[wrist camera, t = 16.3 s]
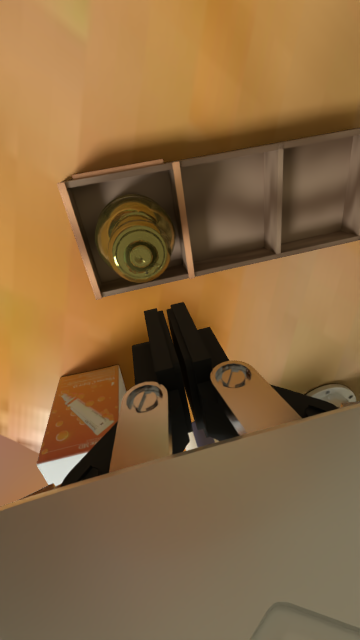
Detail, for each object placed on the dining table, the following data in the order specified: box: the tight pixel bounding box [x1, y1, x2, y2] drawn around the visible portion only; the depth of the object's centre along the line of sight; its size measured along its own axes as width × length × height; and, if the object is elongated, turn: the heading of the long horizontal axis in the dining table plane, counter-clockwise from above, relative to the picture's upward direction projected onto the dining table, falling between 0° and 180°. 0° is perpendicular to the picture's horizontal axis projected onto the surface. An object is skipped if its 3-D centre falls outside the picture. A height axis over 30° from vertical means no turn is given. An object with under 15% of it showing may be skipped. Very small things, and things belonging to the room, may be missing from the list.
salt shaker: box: [95, 193, 175, 283], centre depth 26 cm, size 7×7×10 cm
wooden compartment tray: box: [57, 128, 360, 300], centre depth 30 cm, size 11×31×4 cm, turn 99°
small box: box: [37, 365, 126, 486], centre depth 34 cm, size 8×6×13 cm
